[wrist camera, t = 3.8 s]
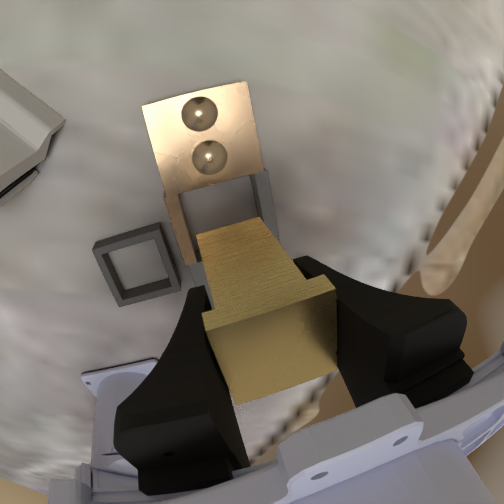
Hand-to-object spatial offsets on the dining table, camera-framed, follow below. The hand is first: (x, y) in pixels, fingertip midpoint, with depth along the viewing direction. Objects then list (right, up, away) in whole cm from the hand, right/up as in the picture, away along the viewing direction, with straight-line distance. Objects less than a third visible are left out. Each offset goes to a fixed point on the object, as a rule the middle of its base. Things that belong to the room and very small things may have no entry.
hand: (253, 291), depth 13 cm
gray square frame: (-8, +1, +9) cm, 12 cm away
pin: (-1, +2, +2) cm, 3 cm away
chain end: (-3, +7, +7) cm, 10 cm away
